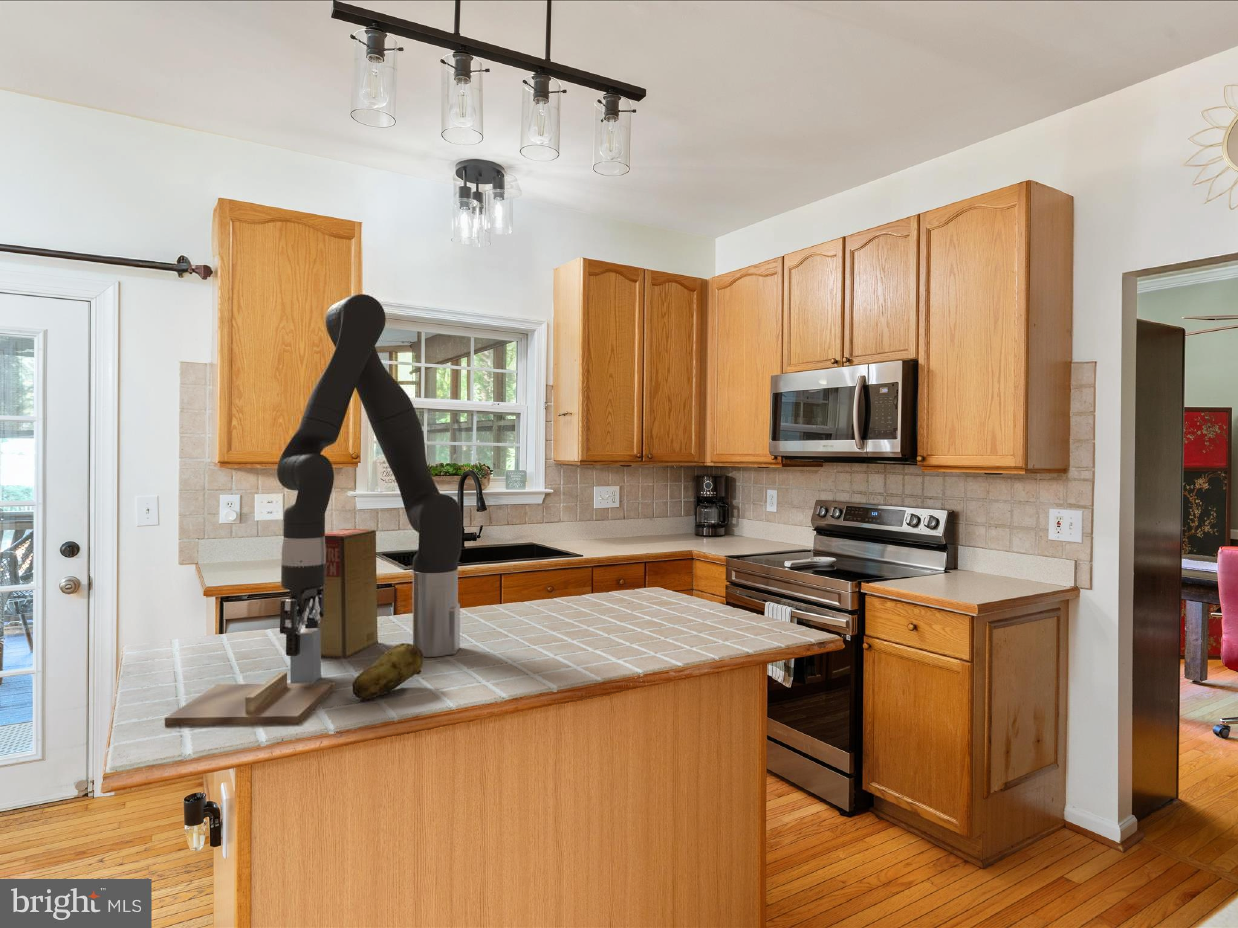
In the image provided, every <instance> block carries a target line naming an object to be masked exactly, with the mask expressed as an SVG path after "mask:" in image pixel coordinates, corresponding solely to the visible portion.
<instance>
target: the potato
mask: <svg viewBox="0 0 1238 928" xmlns="http://www.w3.org/2000/svg"><path fill="white" fill-rule="evenodd" d="M423 660H424V656H423V653H422V651H421V650H420V649H419V648H418V647H417V646H415V645H413V643H408V642H407V643H403V642H402V643H399V644H395V645H393V646H392V647H391V648H389V649H388V650H386V651H385V652H384V653H383V654H382V655H380V657H379V658H378V659H377V660H376V661H374V663H373V664H372V665H370V666H369V667H367V668H366V669H364V670H363V671H362V672H361V673H360V674H358V675H357V676H356V677H355V678H354V680H353V681H352V684H351V686H352V694H353V696H355V697H356V698H358V699H360V700H362V701H365V700H366V701H367V700H371V699H373V698H374V697H378V696H381V695H384V694H388V693H390V692H392V691H393V690H395V689H397V688H398V687H399V686H401V685H402V684H403V683H405V681H407V680H408V679H410V678H412V677H413V676H415V675H420V674H421V673H422V670H421V669H422V666H423V664H424V663H423V662H424V661H423Z"/></svg>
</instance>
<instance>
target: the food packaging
mask: <svg viewBox="0 0 1238 928" xmlns="http://www.w3.org/2000/svg"><path fill="white" fill-rule="evenodd" d="M325 544H326V583H325V585H324V586H323V588H324V616H323V618H320V623H318V628H321V658H333V659H335V658H336V659H346V658H349V657H350V656H353V655H354V654H356V653H358V652H361V651H363V650H364V649H367V648H369V647H371V646H373V645H375V644H377V643H379V639H378V638H379V637H378V586H377V584H378V582H377V531H376V529H370V528H369V529H368V528H365V529H364V528H363V529H362V528H340V529H334V530H329V531H325ZM306 624H308V623H306Z"/></svg>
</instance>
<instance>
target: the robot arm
mask: <svg viewBox="0 0 1238 928" xmlns="http://www.w3.org/2000/svg"><path fill="white" fill-rule="evenodd" d="M386 316H387V315H386V312H385V310H384V307H383V305H382V304H381V302H379V300H377V299H376V298H375V297H373V296H371V295H368V294H364V293H361V294H360V293H358V294H354V295H353V294H352V295H350V296H348V297H345V298H344V299H341V300H340V301H337V302H336V303H334V304H332V305H331V306H330V307H329V308H328V310H327V312H326V314H325V327H326V331H327V334H328V336H329V339H330V340H331V342H332V344H333V346H334V348H335V349H334V351H333V354H332V355H331V359H330V361H329V362H328V363H327V366H326V368H325V369H324V371H323V373H322V374H321V376H320V377H319V379H318V381H317V383H316V384H315V386H314V388H313V390H312V392H311V393H310V396H309V399H308V400H307V402H306V403H307V404H306V406H305V408H304V412H303V414H302V417H301V419H300V420H301V421H300V423H299V426H298V428H297V430H296V431H295V433H294V434H293V436H292V437H291V438H290V441H288V444H287V445H286V447H284V449H283V452H282V453H281V455H280V456H279V459H278V463H277V467H276V468H277V469H276V476H277V479H278V482H279V483H280V485H281V486H282V487H283V488H285V489H287V490H290V491H295V492H297V494H296V498H295V502H294V504H292V505H289V506H287V507H286V508H285V510H284V512H283V535H282V537H283V538H282V546H281V563H280V564H281V565H280V566H281V569H280V570H281V572H280V573H281V576H280V577H281V578H280V586H281V588H282V589H284V590H289V599H287V598H286V599H285V598H283V599H281V601H280V613H279V615H280V616H279V634H283V635H285V655H286V656H288V657H290V656H297V655H299V654H300V632H301V628H302V627H303V625H304V624H305V625H304V628H318V623H320V618H323V616H324V588H323V586H324V585H325V583H326V544H325V532H326V512H327V509H328V506H329V502H330V499H331V494H332V492H333V487H334V481H335V470H334V467H333V464H332V462H331V461H330V459H329V458H328V457H327V456H325V455H324V454H322V452H323V450H324V449H326V448H327V447H330V446H332V445H334V444H335V443H336V442H337V440H338V438H339V435H340V433H341V431H342V427H343V424H344V421H345V418H346V415H347V411H348V409H349V405H350V403H351V400H352V398H353V394H354V392H355V390H356V393H357V395H358V397H359V400H360V402H361V405H362V407H363V408H364V411H365V414H366V416H367V417H366V418H367V419H368V422H369V425H370V426H371V428H372V429H371V430H372V431H373V433H374V436H375V439H376V440H377V443H378V445H379V447H380V450H381V452H382V453H383V455H384V458H385V461H386V463H387V465H388V467H389V469H390V471H391V473H392V475H393V477H394V479H395V482H396V484H397V487H398V489H399V492H400V496H401V500H402V503H403V507H404V510H405V514H406V517H407V521H408V522H409V525H410V527H411V528H412V529H413V530H414V531H415V532H417V533H418V547H417V552H416V554H415V555H414V556H413V558H412V645H415V646H417V647H418V648H419V649H420V650H421V651H422V653H423V658H424V657H425V658H426V657H428V658H431V657H432V658H433V657H434V658H435V657H443V656H448V655H449V656H450V655H456V654H457V652H458V650H459V649H460V647H461V643H460V642H461V604H460V602H459V598H458V597H459V593H458V592H459V582H458V581H459V580H458V578H459V570H458V569H459V561H460V557H461V554H462V545H463V544H462V543H463V539H462V538H463V536H462V535H463V513H462V509H461V507H460V504H459V502H458V501H457V500H456V499H455V498H454V497H452V496H451V495H448V494H444V493H440V491H439V489H438V487H437V485H436V484H435V480H434V479H433V476H432V475H431V471H430V470H429V466H428V462H427V456H426V455H427V454H426V444H425V436H424V431H423V427H422V425H421V421H420V419H419V416H418V414H417V411H416V409H415V407H414V404H413V402H412V400H411V398H410V397H409V395H408V393H407V392H406V391H405V389H404V388H403V387H402V386H401V385H400V384H399V383H398V381H397V380H396V379H395V378H394V377H392V375H391V374H390V372H389V371H388V370H387V368H386V367H385V366H384V364H383V362H382V360H381V358H380V355H379V353H378V351H377V348H376V345H377V344H378V341H379V339H380V338H381V335H383V332H384V329H385V327H386V322H387V321H386V320H387V319H386ZM307 623H308V624H307Z"/></svg>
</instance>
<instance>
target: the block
mask: <svg viewBox="0 0 1238 928" xmlns="http://www.w3.org/2000/svg"><path fill="white" fill-rule="evenodd" d="M289 658H290V659H289V660H290V665H289V666H290V669H289V670H290V674H289V675H290V684H294V683H316V681H317V680H319V679H320V678H321V676H322V657H321V628H305V627H304V628H301V632H300V654H299V655H297V656H289Z"/></svg>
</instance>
